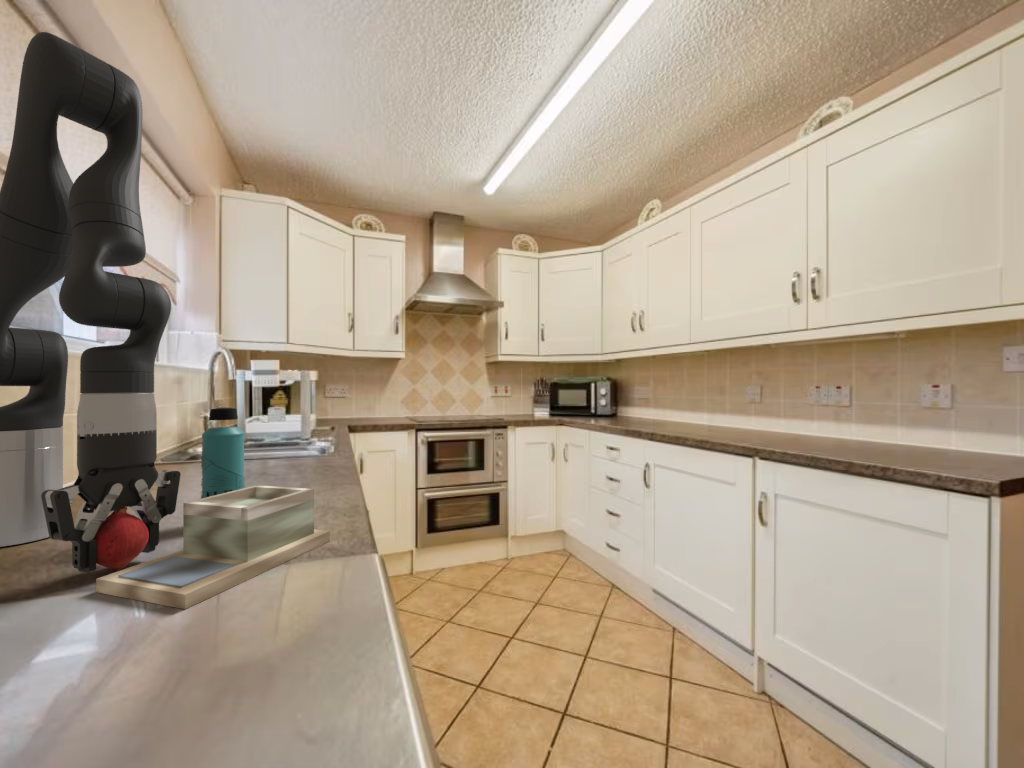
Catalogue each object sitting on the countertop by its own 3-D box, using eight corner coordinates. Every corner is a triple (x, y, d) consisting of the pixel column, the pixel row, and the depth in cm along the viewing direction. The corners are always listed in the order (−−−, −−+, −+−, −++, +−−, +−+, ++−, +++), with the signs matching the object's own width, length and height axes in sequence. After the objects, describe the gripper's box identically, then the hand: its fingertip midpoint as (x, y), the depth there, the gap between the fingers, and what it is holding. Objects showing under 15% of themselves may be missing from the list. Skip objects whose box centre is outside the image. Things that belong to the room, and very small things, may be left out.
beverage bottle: (240, 514, 79) (240, 406, 80) (250, 522, 75) (249, 407, 75) (197, 522, 75) (197, 407, 75) (204, 531, 70) (204, 408, 70)
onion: (110, 581, 51) (111, 514, 51) (73, 577, 52) (73, 512, 53) (159, 562, 57) (159, 501, 57) (125, 559, 58) (125, 500, 58)
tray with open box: (96, 592, 48) (96, 520, 49) (257, 533, 68) (257, 482, 69) (185, 609, 44) (185, 531, 44) (329, 540, 64) (329, 487, 64)
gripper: (159, 424, 63) (159, 539, 63) (23, 433, 49) (22, 581, 49) (196, 424, 61) (196, 544, 60) (64, 434, 47) (63, 589, 47)
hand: (118, 560), depth 55 cm, fingers closed on onion, 6 cm apart
